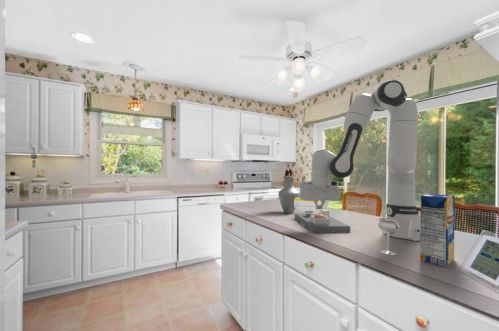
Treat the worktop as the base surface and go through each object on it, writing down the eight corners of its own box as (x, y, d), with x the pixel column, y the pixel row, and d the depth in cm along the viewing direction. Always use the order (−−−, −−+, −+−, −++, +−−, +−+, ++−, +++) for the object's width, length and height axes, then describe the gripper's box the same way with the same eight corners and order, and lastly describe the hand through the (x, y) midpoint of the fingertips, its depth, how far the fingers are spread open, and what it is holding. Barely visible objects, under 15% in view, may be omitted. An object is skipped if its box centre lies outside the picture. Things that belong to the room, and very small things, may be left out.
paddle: (327, 217, 132) (327, 209, 132) (329, 218, 130) (329, 210, 130) (320, 217, 132) (320, 209, 132) (322, 218, 130) (322, 210, 130)
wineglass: (375, 252, 87) (376, 219, 88) (380, 248, 93) (380, 217, 93) (397, 257, 83) (397, 222, 83) (400, 252, 88) (401, 219, 88)
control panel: (323, 218, 146) (323, 208, 147) (350, 232, 115) (350, 219, 115) (294, 218, 145) (294, 208, 145) (314, 232, 113) (314, 220, 113)
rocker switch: (309, 213, 139) (309, 210, 139) (312, 213, 134) (312, 210, 134) (304, 213, 138) (304, 210, 139) (307, 213, 134) (307, 210, 134)
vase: (302, 212, 165) (303, 176, 165) (294, 215, 153) (295, 176, 153) (283, 210, 173) (284, 175, 173) (274, 212, 161) (275, 175, 161)
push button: (322, 217, 123) (322, 214, 123) (326, 220, 118) (326, 216, 118) (313, 217, 123) (313, 214, 123) (316, 220, 118) (316, 216, 118)
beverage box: (420, 260, 80) (421, 195, 80) (429, 253, 87) (430, 193, 87) (446, 267, 75) (446, 197, 75) (454, 259, 82) (454, 195, 82)
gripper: (302, 181, 116) (301, 210, 116) (342, 182, 118) (341, 210, 118) (298, 180, 123) (297, 207, 123) (336, 181, 125) (335, 208, 125)
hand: (319, 209), depth 121 cm, fingers closed
